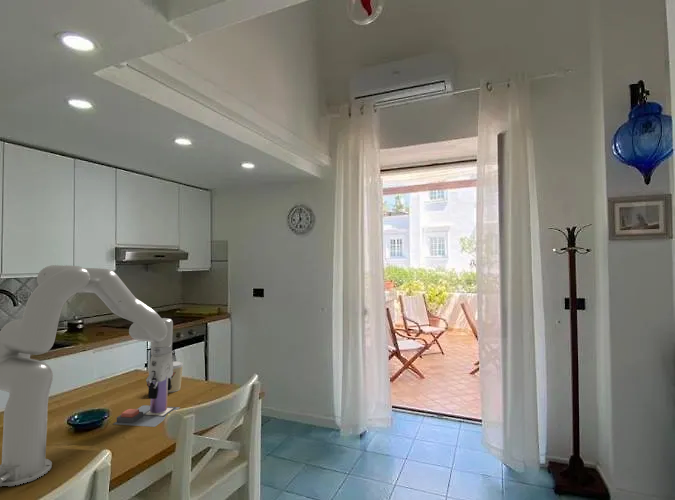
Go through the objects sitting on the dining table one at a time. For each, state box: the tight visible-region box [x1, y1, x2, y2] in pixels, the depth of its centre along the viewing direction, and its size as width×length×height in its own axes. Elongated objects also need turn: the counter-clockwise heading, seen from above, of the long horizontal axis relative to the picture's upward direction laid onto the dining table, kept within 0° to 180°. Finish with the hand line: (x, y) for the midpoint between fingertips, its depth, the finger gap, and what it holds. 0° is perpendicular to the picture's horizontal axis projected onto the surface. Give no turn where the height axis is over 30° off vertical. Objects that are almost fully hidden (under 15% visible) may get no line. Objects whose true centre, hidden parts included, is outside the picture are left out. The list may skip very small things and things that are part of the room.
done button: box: [120, 408, 139, 418], centre depth 140 cm, size 4×4×2 cm
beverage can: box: [149, 376, 169, 414], centre depth 148 cm, size 6×6×15 cm
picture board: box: [113, 405, 181, 428], centre depth 144 cm, size 18×16×3 cm
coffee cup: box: [168, 360, 184, 393], centre depth 176 cm, size 9×9×12 cm
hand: (159, 394), depth 148 cm, fingers open, 9 cm apart
